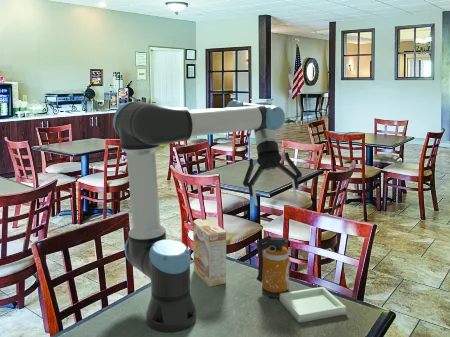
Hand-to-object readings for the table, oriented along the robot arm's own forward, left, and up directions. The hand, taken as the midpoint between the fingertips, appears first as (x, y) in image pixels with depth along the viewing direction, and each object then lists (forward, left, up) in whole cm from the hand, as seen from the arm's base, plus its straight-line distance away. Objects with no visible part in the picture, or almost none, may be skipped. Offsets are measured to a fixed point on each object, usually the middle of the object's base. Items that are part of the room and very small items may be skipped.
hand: (275, 201), depth 154 cm
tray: (+6, -17, -31) cm, 36 cm away
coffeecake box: (-19, +14, -31) cm, 39 cm away
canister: (-2, -4, -31) cm, 31 cm away
